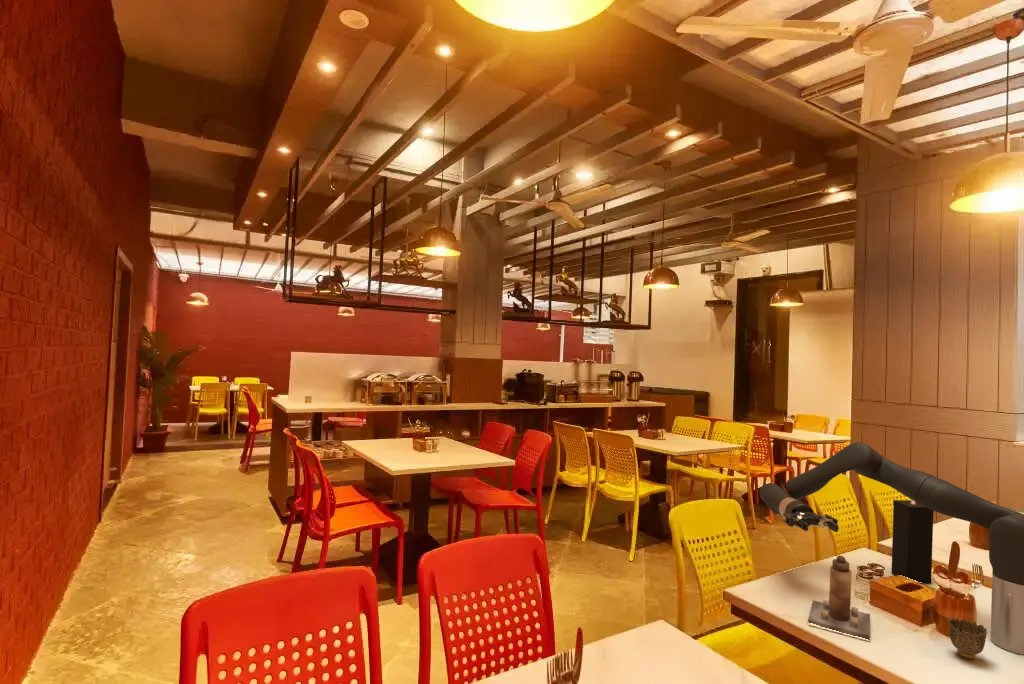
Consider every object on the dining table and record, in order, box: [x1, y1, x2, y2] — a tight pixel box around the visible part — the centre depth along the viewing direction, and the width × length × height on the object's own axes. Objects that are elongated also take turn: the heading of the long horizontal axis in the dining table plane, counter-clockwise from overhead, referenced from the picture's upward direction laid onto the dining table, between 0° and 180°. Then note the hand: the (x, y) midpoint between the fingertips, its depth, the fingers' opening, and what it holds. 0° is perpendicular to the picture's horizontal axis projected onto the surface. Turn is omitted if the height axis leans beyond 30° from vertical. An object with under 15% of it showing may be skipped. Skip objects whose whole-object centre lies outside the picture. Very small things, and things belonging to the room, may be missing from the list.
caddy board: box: [807, 599, 871, 640], centre depth 153 cm, size 14×14×4 cm
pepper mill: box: [828, 555, 852, 621], centre depth 153 cm, size 5×5×17 cm
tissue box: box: [891, 498, 935, 585], centre depth 183 cm, size 8×8×28 cm
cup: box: [947, 617, 988, 661], centre depth 137 cm, size 8×7×8 cm
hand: (821, 528), depth 163 cm, fingers open, 8 cm apart
